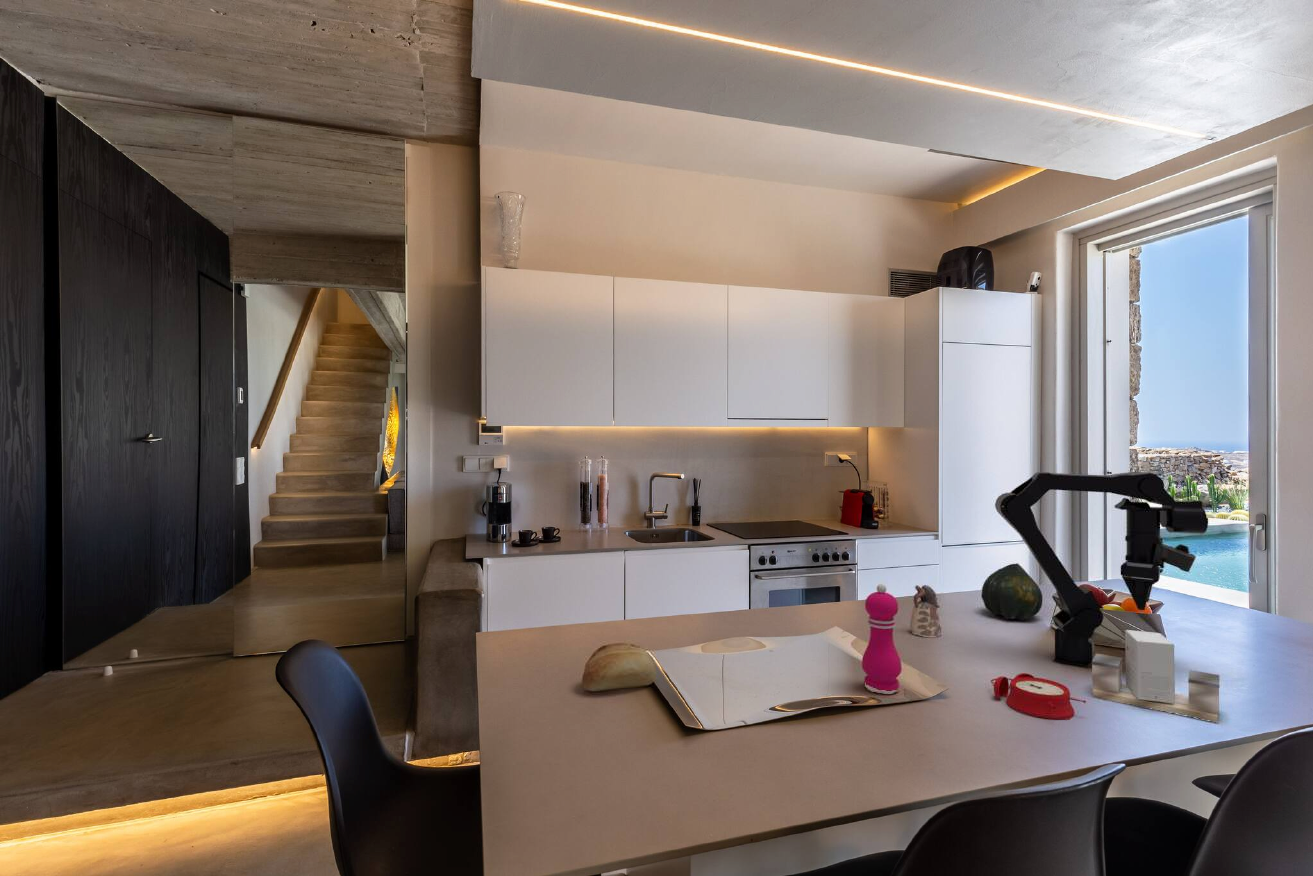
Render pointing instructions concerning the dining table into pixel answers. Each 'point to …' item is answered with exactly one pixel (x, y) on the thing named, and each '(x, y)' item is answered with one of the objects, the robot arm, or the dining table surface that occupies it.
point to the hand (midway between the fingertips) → (1143, 605)
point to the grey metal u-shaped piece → (1195, 705)
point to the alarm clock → (1035, 696)
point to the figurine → (925, 613)
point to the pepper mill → (881, 642)
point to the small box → (1150, 666)
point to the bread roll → (618, 668)
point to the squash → (1012, 593)
